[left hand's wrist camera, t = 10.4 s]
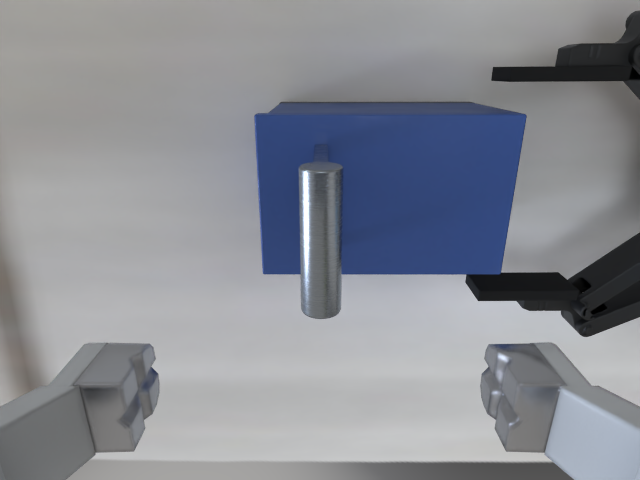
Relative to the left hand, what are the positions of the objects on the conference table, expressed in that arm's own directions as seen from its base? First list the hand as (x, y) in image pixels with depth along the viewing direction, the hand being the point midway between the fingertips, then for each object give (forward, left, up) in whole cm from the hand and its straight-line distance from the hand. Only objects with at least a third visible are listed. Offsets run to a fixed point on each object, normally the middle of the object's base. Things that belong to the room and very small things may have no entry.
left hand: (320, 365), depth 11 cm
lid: (+2, -3, -15) cm, 16 cm away
